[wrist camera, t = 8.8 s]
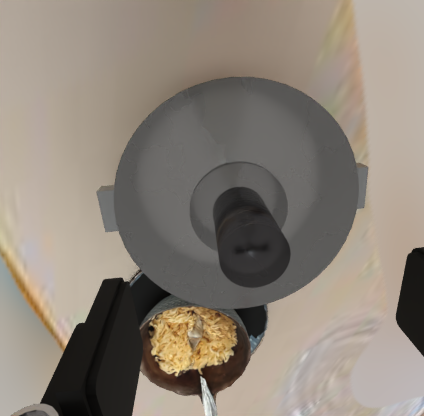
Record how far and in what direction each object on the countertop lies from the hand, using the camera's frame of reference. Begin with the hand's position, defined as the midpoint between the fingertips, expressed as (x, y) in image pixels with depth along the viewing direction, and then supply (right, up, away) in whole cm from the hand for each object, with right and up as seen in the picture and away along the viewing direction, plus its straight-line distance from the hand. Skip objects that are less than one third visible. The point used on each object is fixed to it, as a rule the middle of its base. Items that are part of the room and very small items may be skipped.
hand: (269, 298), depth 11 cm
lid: (0, +3, +10) cm, 11 cm away
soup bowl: (-4, -8, +23) cm, 24 cm away
